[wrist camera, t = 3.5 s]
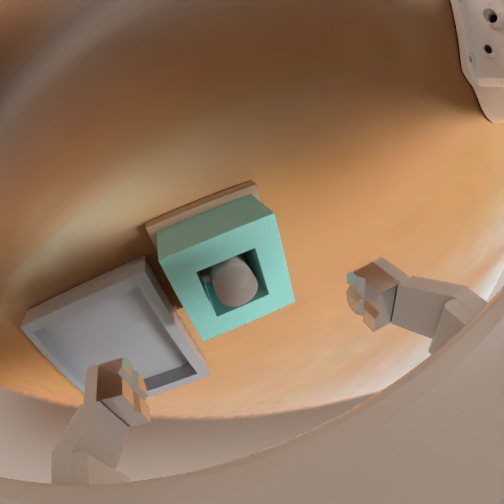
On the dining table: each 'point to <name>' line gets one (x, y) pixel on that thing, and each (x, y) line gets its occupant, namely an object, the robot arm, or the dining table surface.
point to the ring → (217, 250)
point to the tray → (117, 329)
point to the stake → (228, 271)
